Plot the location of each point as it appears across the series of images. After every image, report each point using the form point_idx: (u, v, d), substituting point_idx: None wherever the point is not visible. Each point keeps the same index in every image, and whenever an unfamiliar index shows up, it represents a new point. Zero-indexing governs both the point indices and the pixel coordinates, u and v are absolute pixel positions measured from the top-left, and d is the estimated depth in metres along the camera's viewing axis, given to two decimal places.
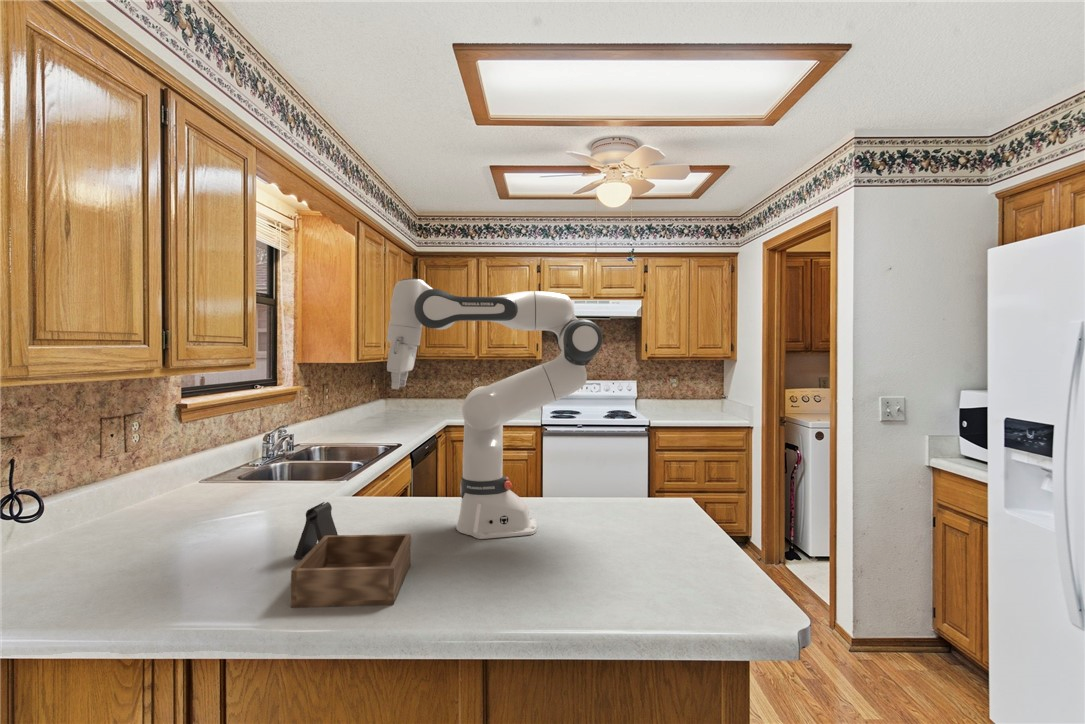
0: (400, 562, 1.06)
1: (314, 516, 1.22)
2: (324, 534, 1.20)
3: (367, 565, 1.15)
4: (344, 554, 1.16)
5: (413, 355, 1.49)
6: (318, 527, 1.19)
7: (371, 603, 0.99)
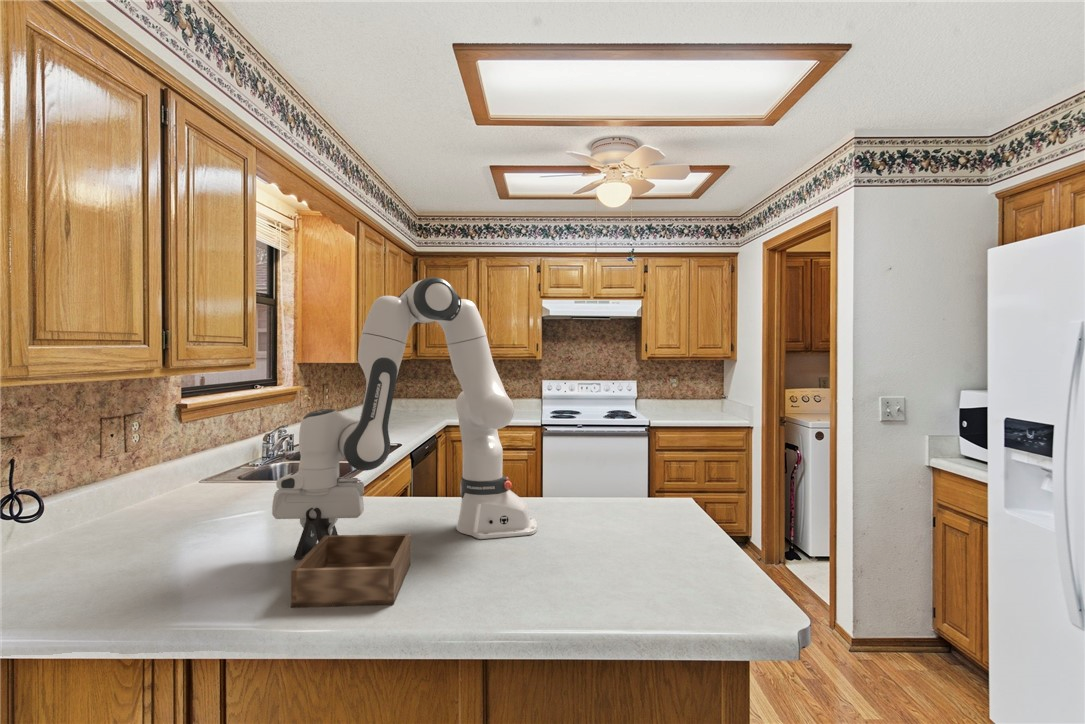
0: (400, 562, 1.06)
1: None
2: (324, 534, 1.20)
3: (367, 565, 1.15)
4: (344, 554, 1.16)
5: None
6: (318, 527, 1.19)
7: (371, 603, 0.99)
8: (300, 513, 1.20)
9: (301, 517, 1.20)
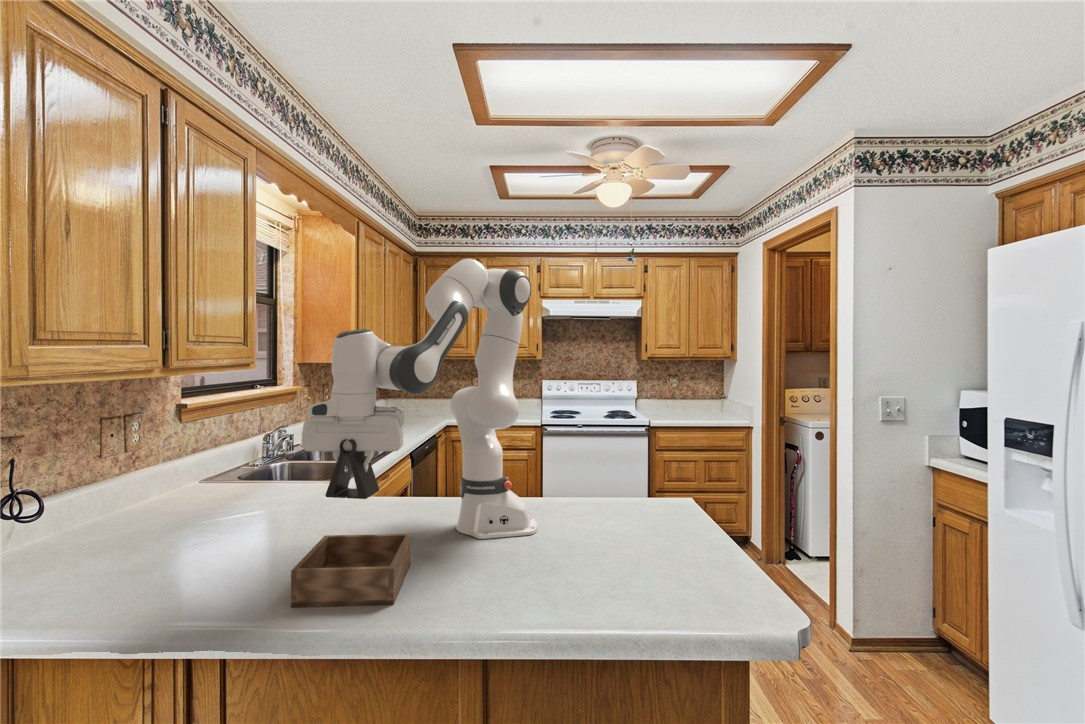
0: (400, 562, 1.06)
1: None
2: (360, 468, 1.06)
3: (367, 565, 1.15)
4: (344, 554, 1.16)
5: None
6: (354, 460, 1.05)
7: (371, 603, 0.99)
8: (333, 445, 1.06)
9: (334, 449, 1.07)
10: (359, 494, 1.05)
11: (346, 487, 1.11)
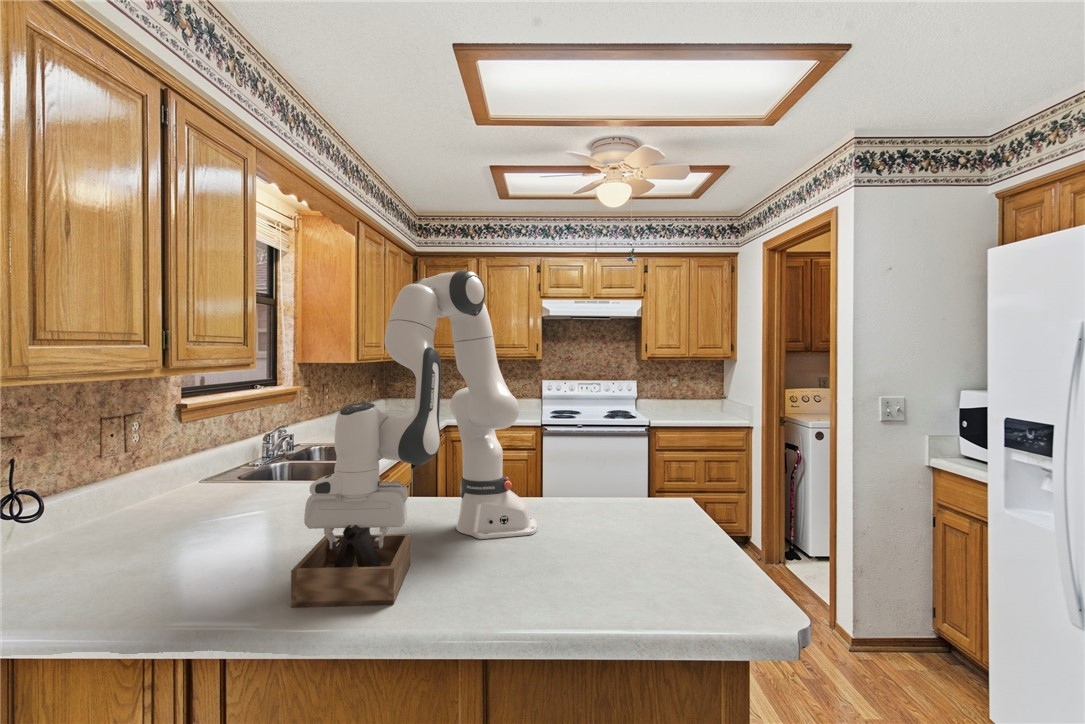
0: (400, 562, 1.06)
1: (352, 534, 1.07)
2: (364, 555, 1.06)
3: None
4: None
5: None
6: (357, 547, 1.05)
7: (371, 603, 0.99)
8: (337, 522, 1.05)
9: (337, 526, 1.06)
10: None
11: None
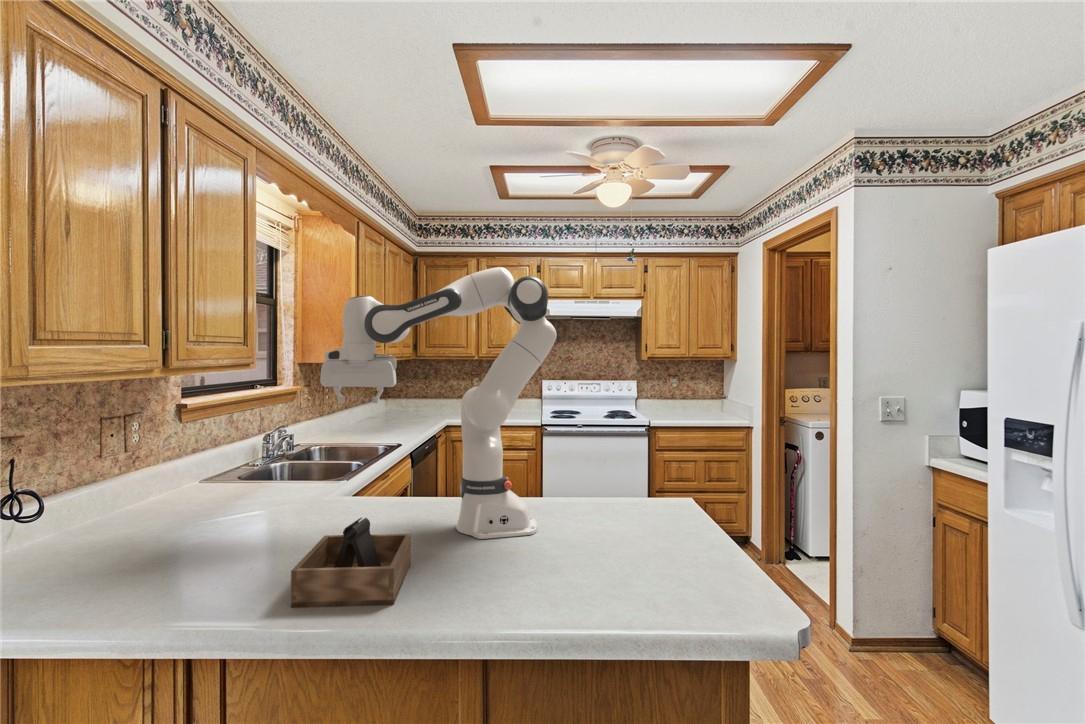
0: (400, 562, 1.06)
1: (352, 534, 1.07)
2: (364, 555, 1.06)
3: None
4: None
5: None
6: (357, 547, 1.05)
7: (371, 603, 0.99)
8: (344, 382, 1.43)
9: (344, 385, 1.43)
10: None
11: None
